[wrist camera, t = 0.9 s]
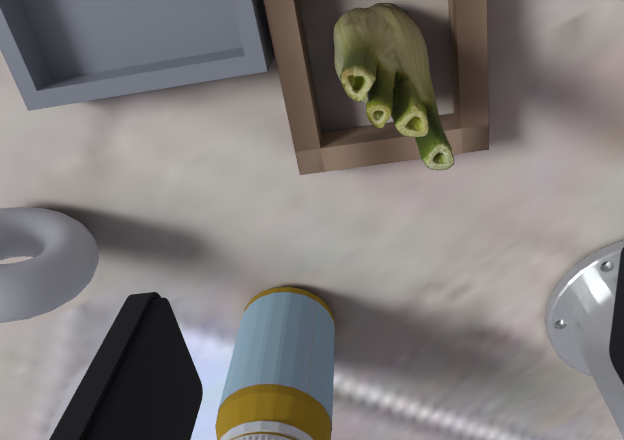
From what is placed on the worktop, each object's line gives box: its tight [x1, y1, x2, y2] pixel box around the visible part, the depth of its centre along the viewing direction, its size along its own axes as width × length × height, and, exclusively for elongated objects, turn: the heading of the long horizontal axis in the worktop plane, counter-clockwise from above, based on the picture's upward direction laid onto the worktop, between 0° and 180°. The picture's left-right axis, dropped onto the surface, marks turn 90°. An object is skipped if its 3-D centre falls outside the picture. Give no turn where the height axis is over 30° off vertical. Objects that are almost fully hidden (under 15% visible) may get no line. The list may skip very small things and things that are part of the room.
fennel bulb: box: [334, 3, 454, 170], centre depth 26 cm, size 6×5×12 cm
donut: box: [0, 207, 99, 323], centre depth 34 cm, size 10×4×10 cm, turn 82°
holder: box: [264, 0, 489, 175], centre depth 30 cm, size 11×12×2 cm
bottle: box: [216, 287, 335, 440], centre depth 35 cm, size 7×7×15 cm
